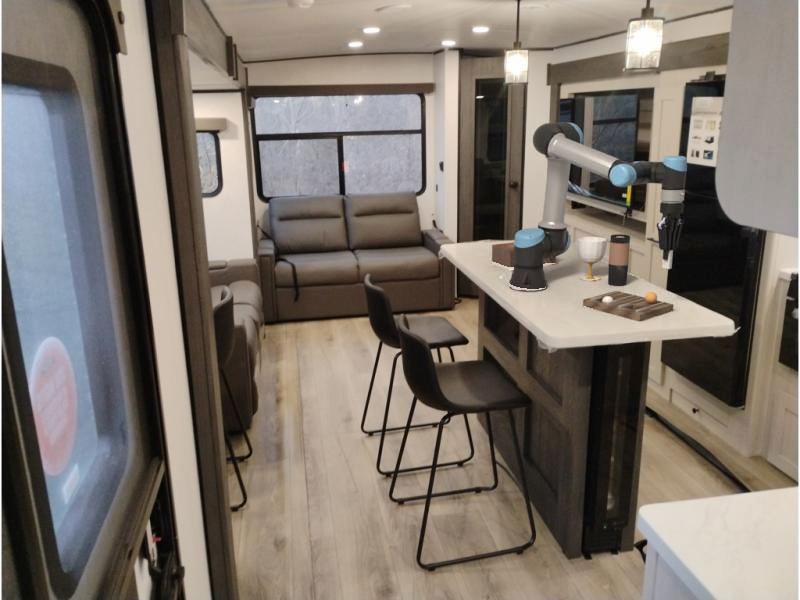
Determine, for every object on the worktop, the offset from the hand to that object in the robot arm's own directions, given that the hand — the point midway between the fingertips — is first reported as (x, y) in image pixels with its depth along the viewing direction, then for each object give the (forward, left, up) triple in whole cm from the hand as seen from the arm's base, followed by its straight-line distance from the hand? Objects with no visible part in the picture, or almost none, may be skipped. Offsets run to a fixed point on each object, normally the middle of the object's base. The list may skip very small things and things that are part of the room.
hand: (666, 268), depth 231 cm
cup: (-43, +12, -14) cm, 47 cm away
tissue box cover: (-80, +10, -15) cm, 82 cm away
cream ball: (-12, -16, -12) cm, 23 cm away
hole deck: (-6, -13, -14) cm, 20 cm away
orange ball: (0, -8, -10) cm, 12 cm away
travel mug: (-30, +13, -14) cm, 36 cm away
